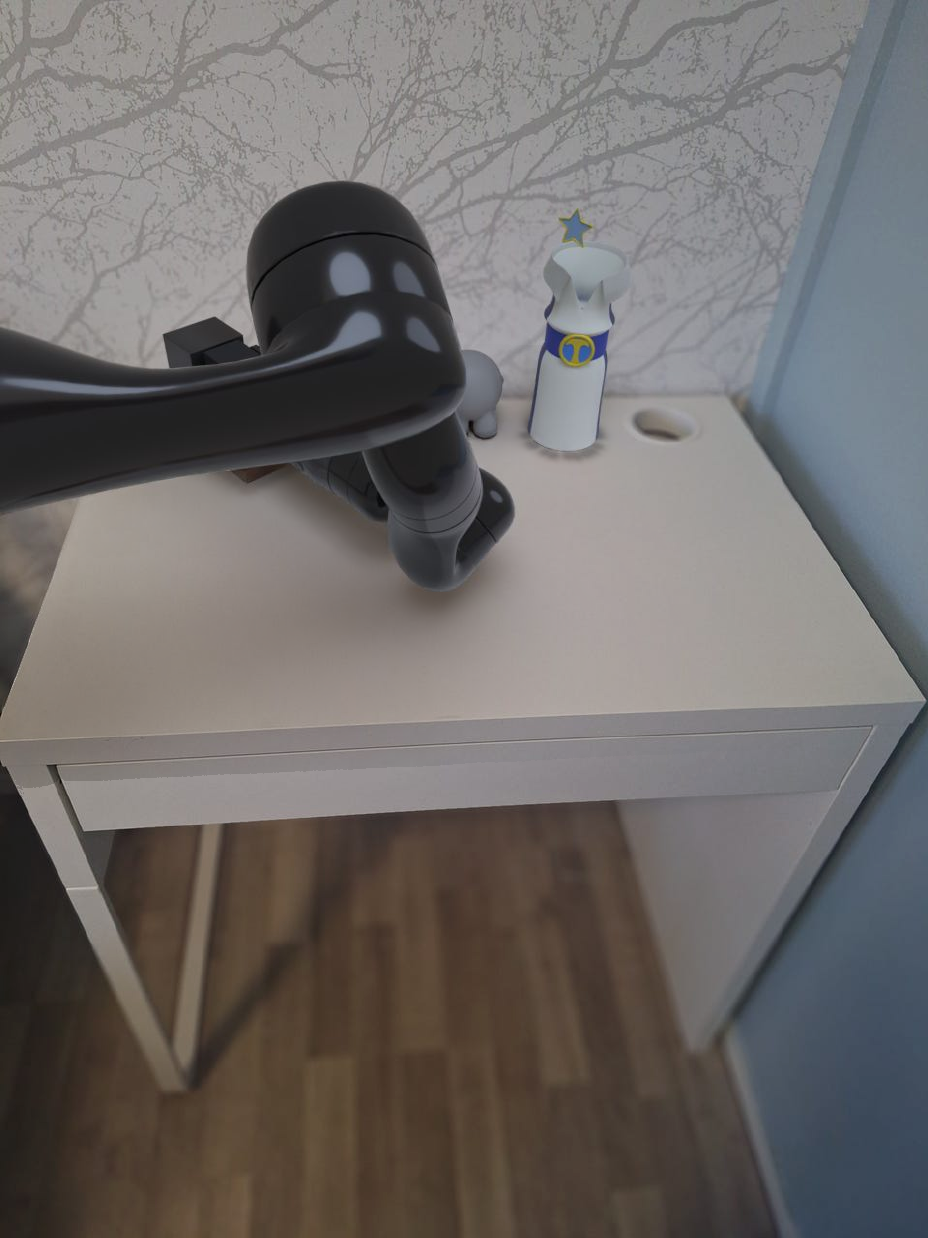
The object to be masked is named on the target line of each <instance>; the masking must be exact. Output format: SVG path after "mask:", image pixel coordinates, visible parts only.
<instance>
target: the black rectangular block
mask: <svg viewBox="0 0 928 1238" xmlns="http://www.w3.org/2000/svg"><path fill="white" fill-rule="evenodd" d="M250 347H251V346H248V344H245V342H244V343H242V342H241V341H240V340H236V341H233V342H230V343H227V344H225V345H222V346H219V347H216V348H214V349H211V350H208V351H205V352H203V355H204V361H205V365H215V364H223V363H229V362H236V361H240V360H245V359H249V358H254V357H258V356H261V355H260V354H259V353H257V352H256V351H254V350H253V349H251V348H250Z"/></svg>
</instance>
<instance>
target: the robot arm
mask: <svg viewBox="0 0 928 1238" xmlns="http://www.w3.org/2000/svg"><path fill="white" fill-rule="evenodd" d="M431 247H432V246H431V245H430V241H429V240H428V237H427V236H426V234H425V232H424V230H423V228H422V226H421V224H420V223H419V222H418V220H417V219H416V218H415V216H414V215H413V214H412V212H411V211H410V210H409V208H408V207H407V206H405V204H403V202H401V201H399V200H398V199H397V198H396V197H395V196H394V195H392V194H390V193H388V192H386V191H384V190H383V189H381V188H379V187H377V186H374V185H371V184H368V183H364V182H360V181H353V180H352V181H351V180H331V181H322V182H317V183H315V184H310V185H307V186H304V187H301V188H299V189H296V190H295V191H292V192H290V193H288V194H287V195H285V196H284V197H282V198H281V199H279V200H278V201H276V202H275V203H274V204H273V205H272V206H271V207H270V208H269V209H268V210H267V211H266V212H265V213H264V214H263V215H262V217H261V218H260V220H259V221H258V223H257V224H256V226H255V228H254V229H253V231H252V235H251V237H250V240H249V243H248V246H247V252H246V260H245V261H246V263H245V278H246V279H245V280H246V288H247V296H248V303H249V307H250V313H251V317H252V321H253V325H254V330H255V334H256V339H257V343H258V344H253V345H251V346H249V347H250V348H251V349H253V350H254V351H256V352H257V353H259V354H260V355H261V356H258V357H254V358H249V359H245V360H240V361H236V362H229V363H223V364H215V365H204V366H193V367H182V368H169V367H167V368H166V367H163V368H162V367H161V368H159V367H158V368H157V367H144V366H136V365H129V364H123V363H119V362H114V361H111V360H107V359H103V358H99V357H96V356H94V355H90V354H86V353H83V352H80V351H78V350H74V349H72V348H69V347H66V346H63V345H60V344H57V343H54V342H51V341H48V340H45V339H43V338H40V337H36V336H33V335H31V334H28V333H25V332H22V331H18V330H15V329H11V328H8V327H5V326H1V325H0V516H4V515H8V514H12V513H15V512H19V511H24V510H27V509H32V508H36V507H40V506H44V505H49V504H54V503H59V502H63V501H68V500H72V499H77V498H81V497H86V496H91V495H94V494H95V495H96V494H100V493H104V492H108V491H112V490H119V489H123V488H129V487H134V486H138V485H145V484H150V483H154V482H159V481H165V480H170V479H176V478H182V477H191V476H198V475H205V474H212V473H220V472H227V471H231V470H236V469H243V468H251V467H258V466H266V465H273V464H281V463H290V464H289V465H291V466H292V467H293V468H295V469H297V470H298V471H299V472H300V473H302V474H303V475H304V476H306V477H307V478H308V479H309V480H311V481H312V482H314V484H316V485H317V486H320V487H321V488H323V489H325V490H327V491H329V492H330V493H333V494H334V495H336V496H337V497H339V498H340V499H341V500H343V501H344V502H346V504H348V505H349V506H350V507H352V508H354V509H355V510H356V511H357V512H358V513H359V514H361V515H362V516H364V517H365V518H367V519H368V520H371V521H372V522H374V523H378V524H387V527H386V528H387V530H386V531H387V540H388V546H389V548H390V551H391V554H392V556H393V558H394V560H395V562H396V564H397V565H398V567H399V568H400V570H401V571H402V572H403V574H404V575H405V576H406V577H407V578H408V579H409V580H411V582H413V583H414V584H416V585H417V586H419V587H420V588H423V589H425V590H427V591H431V592H439V593H440V592H441V593H443V592H449V591H452V590H454V589H457V588H458V587H460V586H462V584H463V583H464V582H465V581H467V579H469V578H470V576H471V575H472V574H473V572H474V571H475V570H476V569H477V568H478V566H479V565H481V564H482V562H483V561H484V559H485V558H486V557H487V556H488V555H489V554H490V552H492V550H493V549H494V547H495V546H496V545H497V544H498V543H499V542H500V541H501V539H503V537H504V536H505V535H506V534H507V533H508V532H509V530H510V529H511V527H512V525H513V523H514V521H515V518H516V505H515V501H514V499H513V496H512V494H511V492H510V490H509V489H508V487H507V486H506V485H505V484H504V483H503V481H501V480H500V479H499V478H498V477H497V476H495V475H494V474H492V473H491V472H489V471H487V470H486V469H484V468H481V467H479V465H478V462H477V459H476V456H475V453H474V451H473V448H472V445H471V443H470V440H469V437H468V435H467V434H466V432H465V430H464V427H463V425H462V422H461V420H460V418H459V415H458V413H457V411H456V408H457V407H458V406H459V405H460V403H461V402H462V400H463V398H464V395H465V393H466V389H467V373H466V366H465V362H464V358H463V353H462V350H463V349H462V347H461V343H460V340H459V339H460V338H459V336H458V331H457V329H456V327H455V323H454V319H453V315H452V312H451V309H450V305H449V302H448V298H447V295H446V291H445V288H444V285H443V280H442V278H441V274H440V271H439V267H438V263H437V261H436V257H435V254H434V253H433V250H432V248H431Z"/></svg>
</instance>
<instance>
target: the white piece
mask: <svg viewBox="0 0 928 1238" xmlns="http://www.w3.org/2000/svg"><path fill="white" fill-rule="evenodd" d="M557 219H558V221H559V222H560V224H561V225H562V226H563V228H564V229H565V232H564V234H563V237H562V241H561V243H560V244H558V245H556V246H555V248H553V249H552V251H551V253H550V256H549V258H548V260H547V262H546V263H545V265H544V267H543V272H542V273H543V274H542V276H543V279H544V281H545V283H546V285H547V286H548V287H549V289H550V290H551V293H552V297H551V300H550V303H549V304H548V305H547V306H546V308H545V309H544V312H543V317H544V320H545V321H546V327H545V335H544V342H543V344H542V346H541V348H540V351H539V355H538V358H537V364H536V365H537V366H536V374H535V381H534V388H533V395H532V401H531V407H530V413H529V419H528V422H527V423H528V424H527V432H528V433H527V434H528V435H529V437H530V438H531V439H532V440H533V441H534V442H535V443H537V444H539V445H540V446H542V447H545V448H548V449H549V450H554V451H560V452H577V451H581V450H584V449H587V448H589V447H591V446H593V445H594V444H595V443H596V441H597V440H598V437H599V431H600V429H599V428H600V421H601V420H600V419H601V413H602V412H601V411H602V403H603V398H604V397H603V396H604V390H605V384H606V377H607V371H608V362H609V361H608V352H607V346H608V339H609V333H610V329H611V328H612V327H614V324H615V322H616V318H615V315H614V313H613V310H612V303H614V302H616V301H617V300H619V299H621V298H622V297H624V296H625V295H626V294H627V293H628V292H629V290H630V289H631V286H632V284H633V272H632V268H631V265H630V262H629V258H628V256H627V254H626V253H625V252H624V250H622V249H620V248H619V247H617V246H614V245H611V244H609V243H606V242H601V241H595V240H584V234H585V233H587V232H588V231H589V230H592V229H593V228H594V227H595V226H594V225H593V224H592V223H591V224H590V223H588V222H586V221H584V220H582V216H581V212H580V208H579V207H577V208H576V209H575V211H574V212H573V213H572V215H571V216H570V217H564V216H562V217H558V218H557Z"/></svg>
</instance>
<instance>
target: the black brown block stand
mask: <svg viewBox="0 0 928 1238" xmlns="http://www.w3.org/2000/svg"><path fill="white" fill-rule="evenodd" d="M162 338H163V345H164V348H165V355H166V359H167V364H168V368H182V367H193V366H204V365H205V361H204V355H203V352H205V351H208V350H211V349H214V348H216V347H219V346H222V345H225V344H227V343H230V342H233V341H236V340H240V341H241V342H242V343H244V344H245V339H244V334H243V333H241V332H240V331H238V330H236V329H235V328H233V327H232V326H230V325H229V324H227V323H226V322H225V321H223V320H221V319H220V318H219V317H217V316H211V317H208V318H206V319H203V320H200V321H197V322H194V323H191V324H188V325H185V326H182V327H180V328H177V329H174V330H170V331H168V332H165V333H163V334H162ZM288 465H291V464H290V463H281V464H273V465H266V466H258V467H251V468H243V469H236V470H230V471H231V472H232V473H233V474H234V475H236V476H237V477H238V478H240V479H241V480H242V481H243V482H244V483H246V484H249V483H251V482H253V481H255V480H258V479H259V478H262V477H264V476H266V475H268V474H271V473H273V472H276V471H277V470H279V469H282V468H283V467H286V466H288Z"/></svg>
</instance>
